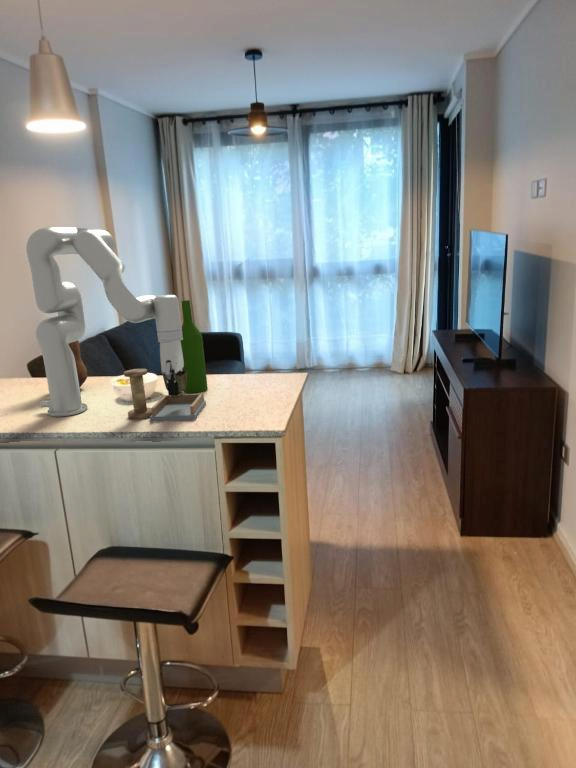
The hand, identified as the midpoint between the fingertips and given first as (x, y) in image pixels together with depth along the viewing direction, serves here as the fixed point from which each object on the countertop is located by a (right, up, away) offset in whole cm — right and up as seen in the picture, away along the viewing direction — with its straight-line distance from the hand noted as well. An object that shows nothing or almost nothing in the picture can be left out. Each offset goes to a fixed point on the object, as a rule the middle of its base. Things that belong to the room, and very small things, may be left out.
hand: (176, 391), depth 186 cm
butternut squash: (-49, 0, +43) cm, 65 cm away
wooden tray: (0, -7, +2) cm, 7 cm away
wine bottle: (+1, 0, +29) cm, 29 cm away
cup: (0, -2, 0) cm, 2 cm away
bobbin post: (-12, -8, +2) cm, 14 cm away
